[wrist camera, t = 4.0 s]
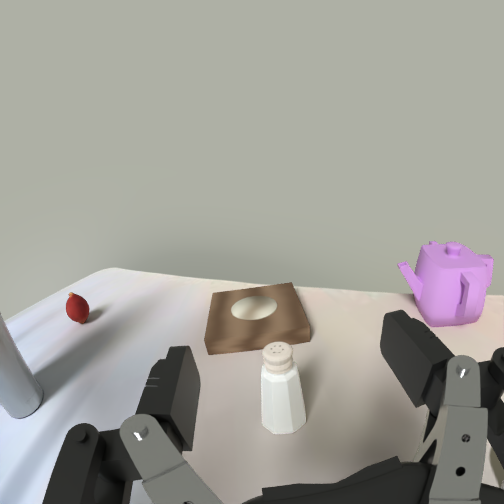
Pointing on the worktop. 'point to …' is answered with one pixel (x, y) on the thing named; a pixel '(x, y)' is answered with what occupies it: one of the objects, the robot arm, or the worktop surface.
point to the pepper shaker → (281, 390)
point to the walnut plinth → (255, 319)
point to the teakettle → (449, 283)
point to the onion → (77, 308)
